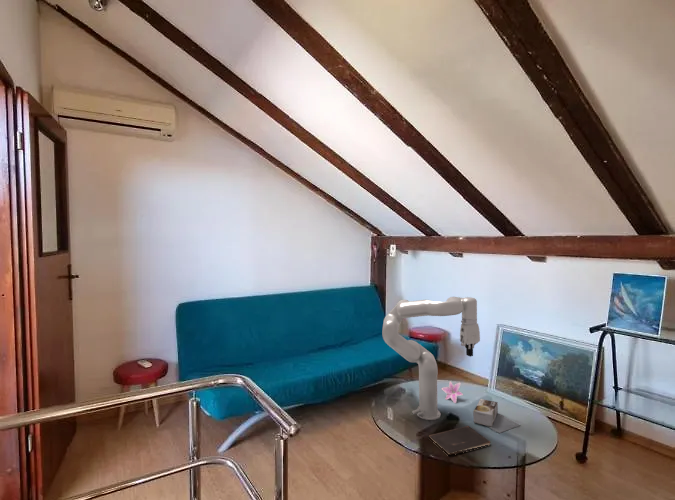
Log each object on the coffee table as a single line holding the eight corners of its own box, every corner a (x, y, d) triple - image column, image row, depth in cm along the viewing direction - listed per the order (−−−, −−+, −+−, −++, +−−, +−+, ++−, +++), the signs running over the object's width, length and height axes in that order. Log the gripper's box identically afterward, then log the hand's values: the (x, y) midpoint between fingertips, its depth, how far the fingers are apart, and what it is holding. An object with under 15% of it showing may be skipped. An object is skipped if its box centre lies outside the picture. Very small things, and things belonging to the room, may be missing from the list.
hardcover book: (490, 446, 174) (490, 441, 174) (448, 458, 167) (448, 453, 167) (467, 429, 190) (467, 425, 189) (428, 439, 182) (428, 434, 182)
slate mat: (499, 433, 184) (499, 432, 184) (477, 420, 197) (477, 419, 197) (520, 425, 191) (520, 425, 191) (497, 413, 203) (497, 413, 203)
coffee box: (492, 427, 189) (498, 413, 202) (491, 414, 189) (498, 401, 202) (473, 422, 194) (480, 409, 207) (472, 410, 194) (480, 398, 207)
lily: (440, 396, 228) (437, 385, 224) (456, 386, 231) (453, 376, 226) (452, 410, 218) (450, 399, 213) (469, 400, 220) (467, 389, 216)
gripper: (463, 324, 192) (464, 360, 193) (485, 320, 198) (485, 355, 199) (453, 321, 198) (453, 355, 199) (474, 318, 205) (474, 351, 206)
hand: (469, 355), depth 199 cm, fingers closed
